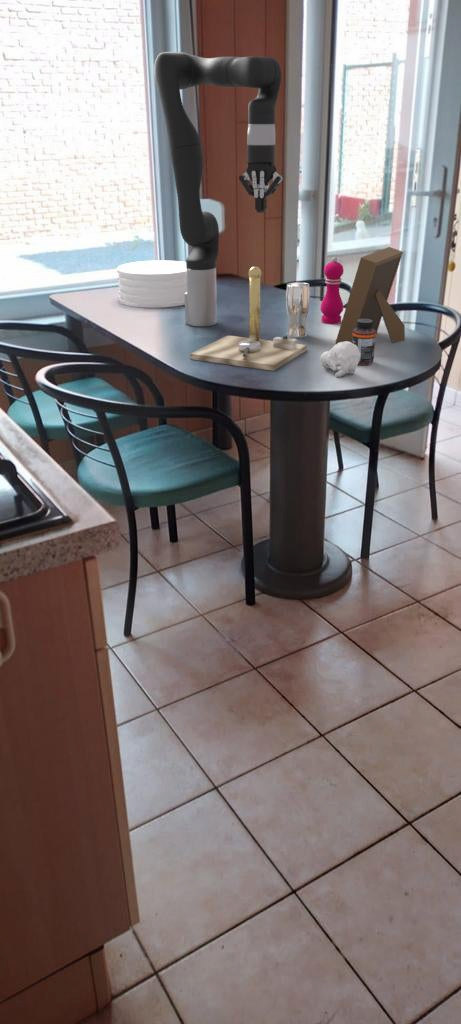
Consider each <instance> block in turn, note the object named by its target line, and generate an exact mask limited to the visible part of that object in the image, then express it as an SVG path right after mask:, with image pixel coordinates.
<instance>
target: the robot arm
mask: <svg viewBox="0 0 461 1024" xmlns="http://www.w3.org/2000/svg"><path fill="white" fill-rule="evenodd" d="M153 69H154V78H155V84H156V88H157V92H158V95H159V99H160V103H161V107H162V111H163V117H164V123H165V127H166V133H167V138H168V146H169V153H170V159H171V165H172V169H173V176H174V182H175V188H176V189H175V190H176V194H177V195H176V197H177V204H178V221H179V230H180V234H181V238H182V239H183V241H184V243H186V244H187V245H188V246H190V247H191V250H190V253H189V255H188V256H187V257H186V259H185V262H186V277H187V292H186V293H185V294H184V297H185V305H184V318H185V319H184V320H185V321H184V322H185V324H187V325H189V326H193V327H210V326H215V325H216V324H217V323H218V312H217V311H218V305H217V304H218V303H217V260H218V257H219V247H220V246H219V243H220V232H219V231H220V229H219V223H218V220H217V218H216V216H215V215H214V214H213V213H211V212H209V211H206V210H205V211H203V209H202V204H201V197H200V194H201V193H200V192H201V191H200V190H201V184H202V178H203V173H204V156H203V155H204V154H203V153H204V152H203V148H202V142H201V138H200V135H199V133H198V131H197V129H196V127H195V126H194V124H193V122H192V121H191V119H190V117H189V116H188V114H187V113H186V110H185V108H184V105H183V101H182V96H181V90H185V89H189V88H193V87H197V86H201V85H213V86H217V87H223V88H226V87H227V88H242V87H243V88H249V89H250V88H251V89H252V88H253V89H258V91H257V96H256V97H255V98H254V99H251V100H250V101H249V102H248V115H247V116H248V117H247V119H248V121H247V124H248V125H247V136H246V137H247V138H246V142H247V145H246V149H247V151H246V153H247V154H246V155H247V156H246V157H247V159H246V160H247V165H246V169H245V172H244V173H243V174H241V175H239V176H238V179H239V181H240V183H241V184H242V186H243V187H244V189H245V190H246V192H247V193H248V195H249V196H252V197H254V203H255V204H254V209H255V211H256V213H260V214H261V213H262V214H263V213H265V211H266V210H267V205H268V204H267V201H268V200H267V199H268V197H270V196H272V195H274V193H275V192H276V191H277V189H278V188H279V186H280V185H281V183H282V182H283V180H284V176H283V175H280V174H279V173H278V172H277V168H276V125H275V124H276V104H277V101H278V96H279V92H280V88H281V82H282V69H281V65H280V63H279V61H278V60H277V59H276V58H274V57H270V56H243V57H242V56H241V57H240V56H217V57H211V58H209V57H208V58H206V57H201V56H197V55H193V54H190V53H186V52H184V51H163V52H160V53H159V54H158V55H157V57H156V58H155V61H154V67H153ZM270 182H271V184H270Z"/></svg>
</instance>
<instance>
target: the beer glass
mask: <svg viewBox="0 0 461 1024" xmlns="http://www.w3.org/2000/svg"><path fill="white" fill-rule="evenodd" d="M285 291H286V292H285V307H286V315H287V322H288V323H287V325H288V326H287V330H286V336H287V337H288V338H292V339H301V338H306V337H307V336H308V333H307V320H308V319H307V318H308V314H309V308H310V300H311V293H310V283H308V282H298V281H297V282H296V281H295V282H290V283H287V284H286V290H285Z"/></svg>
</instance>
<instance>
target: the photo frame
mask: <svg viewBox="0 0 461 1024" xmlns="http://www.w3.org/2000/svg"><path fill="white" fill-rule="evenodd" d="M403 254H404V251H402V250H398V249H396V248H393V247H390V246H388V247H385V248H382V249H380V250H377V251H374V252H372V253H370V254H369V253H368V254H366V255H364V256H361V257H360V259H359V263H358V267H357V270H356V273H355V276H354V279H353V282H352V285H351V290H350V293H349V296H348V299H347V303H346V306H345V311H344V313H343V318H341V322H340V327H339V330H338V333H337V336H336V340H335V345H337V344H338V343H339V342H344V341H348V342H351V343H352V336H353V330H354V328H356V326H357V320H359V319H371V320H372V321H373V325H372V328H374V329H375V331H376V334H377V333H378V331H379V328H380V324H381V321H382V320H383V322H384V325H385V327H386V331H387V333H388V336H389V339H390V342H391V343H398V342H403V341H406V340H405V339H406V337H405V335H406V334H405V331H406V330H405V324H404V323H403V321H402V320H401V318H400V317H399V316H398V314H397V312H396V311H395V310H394V309H393V307H392V306H391V304H390V303H389V302H388V299H389V296H390V293H391V291H392V287H393V285H394V281H395V278H396V275H397V272H398V268H399V266H400V263H401V260H402V256H403Z"/></svg>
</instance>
